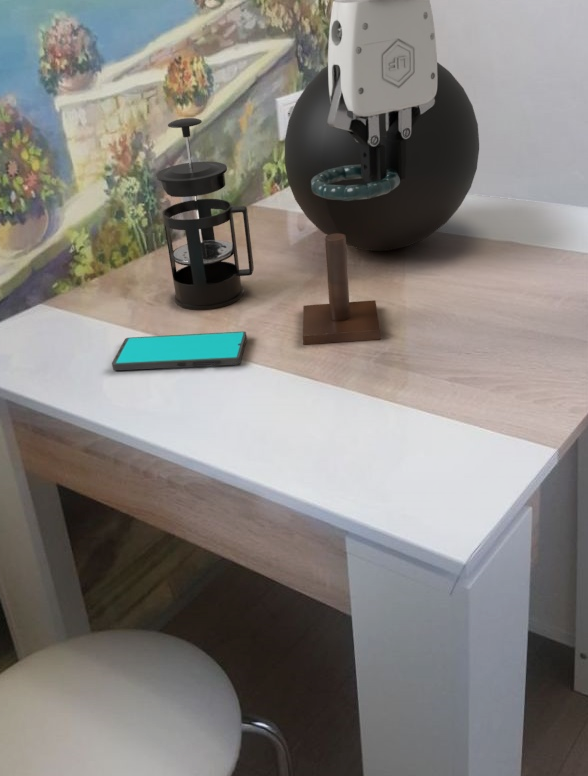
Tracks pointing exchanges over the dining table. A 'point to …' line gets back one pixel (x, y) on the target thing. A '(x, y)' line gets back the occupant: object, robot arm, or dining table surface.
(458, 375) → the dining table surface
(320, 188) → the ring
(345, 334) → the brown peg stand
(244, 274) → the french press
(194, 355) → the smartphone
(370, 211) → the ball
